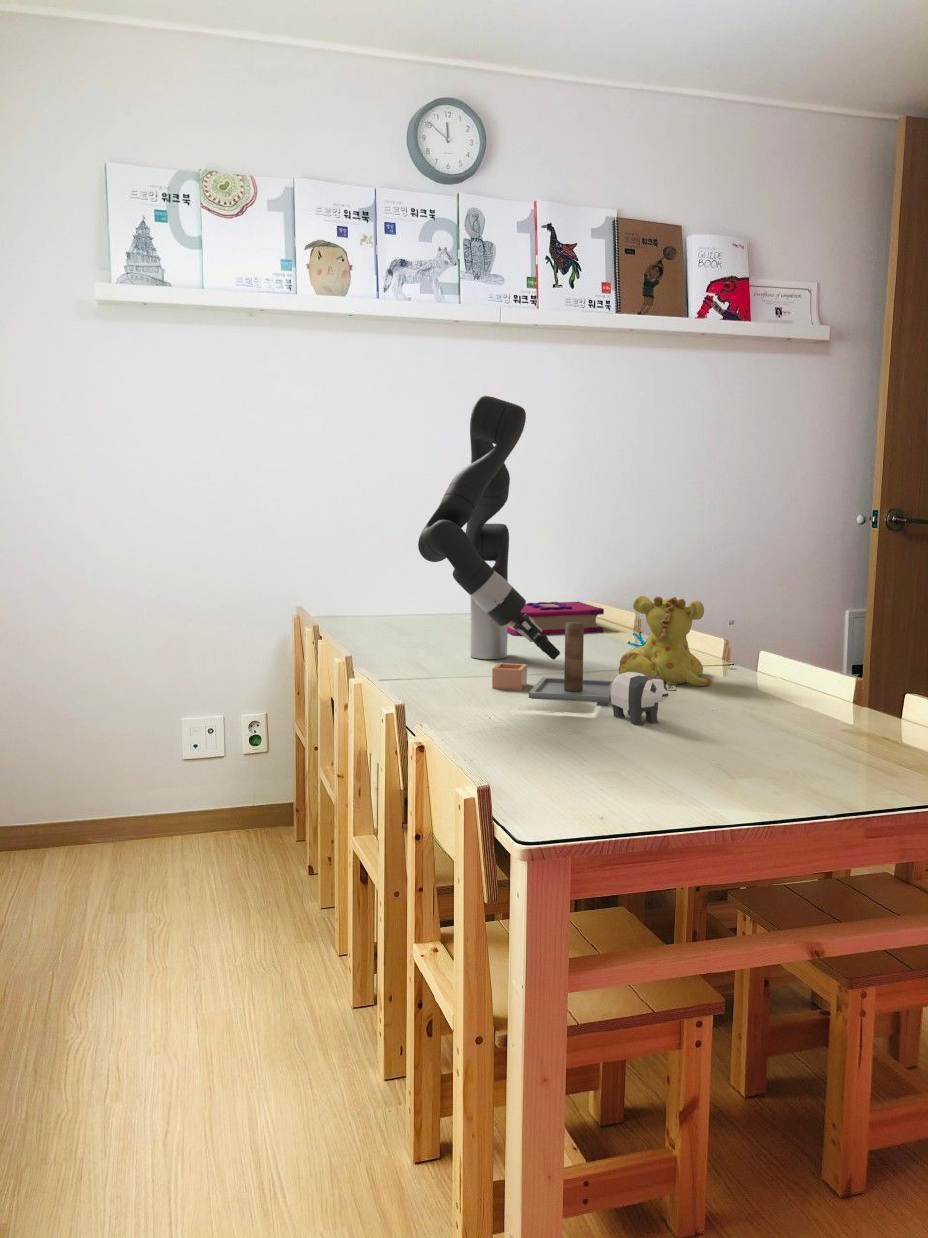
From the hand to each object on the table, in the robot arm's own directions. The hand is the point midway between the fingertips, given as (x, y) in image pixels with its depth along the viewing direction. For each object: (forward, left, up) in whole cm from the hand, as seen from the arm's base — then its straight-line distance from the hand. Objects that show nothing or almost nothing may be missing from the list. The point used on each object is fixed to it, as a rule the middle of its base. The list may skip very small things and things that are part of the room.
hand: (552, 653), depth 208 cm
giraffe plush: (-24, +21, -9) cm, 34 cm away
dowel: (-2, +4, -8) cm, 9 cm away
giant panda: (+17, +19, -9) cm, 27 cm away
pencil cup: (-4, -10, -9) cm, 14 cm away
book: (-91, -16, -10) cm, 93 cm away
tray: (-2, +4, -9) cm, 10 cm away
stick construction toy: (-50, +16, -9) cm, 53 cm away
